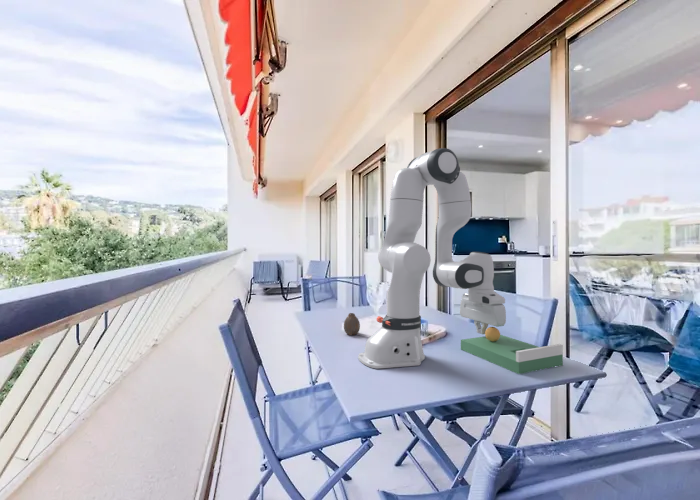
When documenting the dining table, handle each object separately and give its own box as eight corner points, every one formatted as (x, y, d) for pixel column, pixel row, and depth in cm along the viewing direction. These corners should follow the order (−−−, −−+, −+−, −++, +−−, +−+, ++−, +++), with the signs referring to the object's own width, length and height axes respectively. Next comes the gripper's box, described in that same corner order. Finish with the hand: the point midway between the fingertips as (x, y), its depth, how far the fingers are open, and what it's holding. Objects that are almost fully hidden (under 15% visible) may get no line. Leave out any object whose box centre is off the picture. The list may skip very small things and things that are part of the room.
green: (518, 374, 104) (518, 352, 104) (460, 349, 128) (460, 331, 128) (562, 365, 111) (562, 344, 111) (499, 343, 135) (499, 326, 135)
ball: (492, 343, 123) (492, 329, 123) (481, 340, 127) (481, 326, 127) (503, 342, 125) (503, 327, 125) (492, 338, 129) (492, 324, 129)
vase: (340, 334, 152) (340, 313, 152) (352, 331, 157) (352, 311, 157) (351, 337, 147) (351, 316, 147) (363, 334, 152) (363, 313, 152)
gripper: (455, 292, 139) (455, 327, 140) (494, 300, 120) (494, 341, 121) (468, 291, 142) (468, 326, 142) (509, 299, 123) (509, 339, 123)
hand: (481, 333), depth 131 cm, fingers closed
